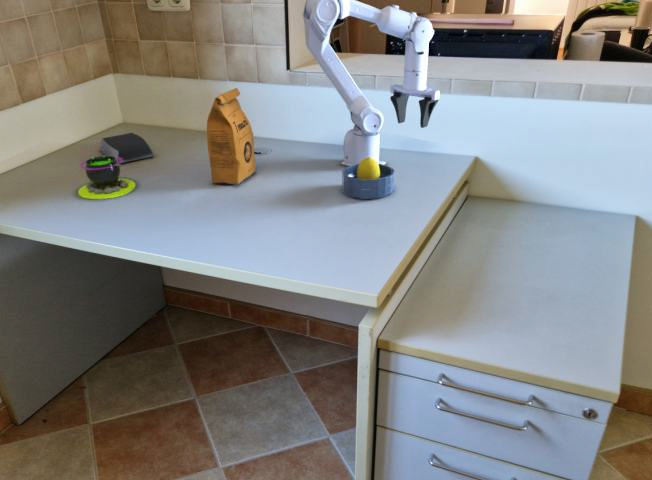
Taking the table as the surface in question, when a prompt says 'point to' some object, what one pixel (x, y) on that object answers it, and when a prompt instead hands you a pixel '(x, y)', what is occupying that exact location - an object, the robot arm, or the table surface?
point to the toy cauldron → (104, 178)
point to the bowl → (367, 183)
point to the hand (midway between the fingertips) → (412, 124)
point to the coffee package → (229, 140)
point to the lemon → (368, 169)
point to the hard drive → (126, 147)
